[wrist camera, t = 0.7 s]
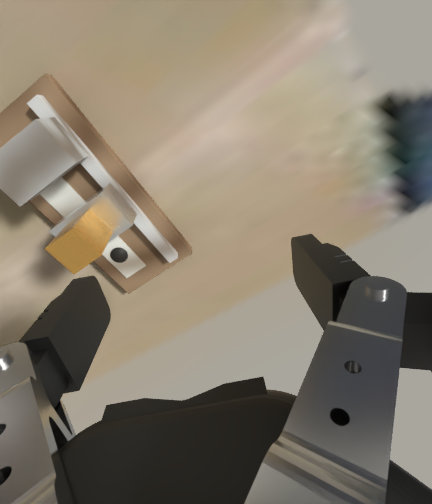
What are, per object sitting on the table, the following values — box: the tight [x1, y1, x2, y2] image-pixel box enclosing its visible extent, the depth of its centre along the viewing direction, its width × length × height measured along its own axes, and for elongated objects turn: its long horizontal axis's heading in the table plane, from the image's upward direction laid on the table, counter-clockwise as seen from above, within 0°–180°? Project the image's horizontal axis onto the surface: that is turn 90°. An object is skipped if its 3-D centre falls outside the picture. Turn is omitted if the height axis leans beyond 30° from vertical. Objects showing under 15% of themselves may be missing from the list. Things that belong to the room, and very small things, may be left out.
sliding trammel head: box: [45, 183, 137, 274], centre depth 26 cm, size 4×6×9 cm, turn 123°
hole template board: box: [0, 74, 192, 294], centre depth 28 cm, size 22×10×6 cm, turn 33°
